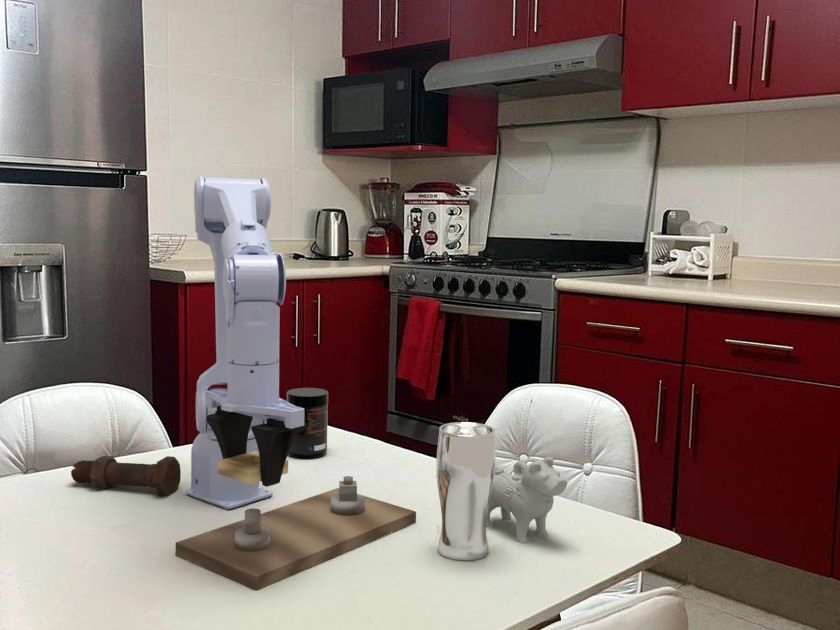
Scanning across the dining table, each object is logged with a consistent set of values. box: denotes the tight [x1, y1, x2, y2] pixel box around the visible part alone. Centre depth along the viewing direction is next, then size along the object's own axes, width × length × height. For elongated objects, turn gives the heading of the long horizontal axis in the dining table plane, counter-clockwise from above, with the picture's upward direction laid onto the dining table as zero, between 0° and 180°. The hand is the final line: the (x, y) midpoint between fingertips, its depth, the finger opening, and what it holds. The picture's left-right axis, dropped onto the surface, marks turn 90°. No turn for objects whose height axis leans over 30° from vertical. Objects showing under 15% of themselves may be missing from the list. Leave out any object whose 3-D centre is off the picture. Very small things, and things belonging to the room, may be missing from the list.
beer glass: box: [436, 421, 496, 562], centre depth 103 cm, size 7×7×15 cm
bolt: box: [70, 455, 182, 498], centre depth 123 cm, size 6×5×15 cm
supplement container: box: [286, 387, 329, 460], centre depth 142 cm, size 7×7×10 cm
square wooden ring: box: [218, 451, 289, 484], centre depth 99 cm, size 6×6×2 cm
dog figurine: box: [486, 456, 568, 545], centre depth 109 cm, size 5×13×11 cm, turn 40°
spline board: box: [175, 475, 417, 591], centre depth 106 cm, size 27×14×6 cm, turn 142°
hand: (253, 478), depth 99 cm, fingers closed on square wooden ring, 6 cm apart
